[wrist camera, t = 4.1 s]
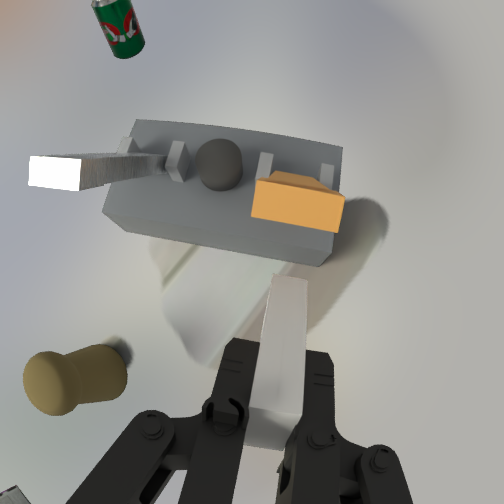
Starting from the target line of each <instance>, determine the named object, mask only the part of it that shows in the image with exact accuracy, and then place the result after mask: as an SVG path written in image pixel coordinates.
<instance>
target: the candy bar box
mask: <svg viewBox="0 0 504 504" xmlns="http://www.w3.org/2000/svg"><path fill="white" fill-rule="evenodd" d="M0 504H31V503H30V502H29V501H28V500H27V498H26V497H25V496H24V494H23V493H22V492H21V490H20V489H19V488H18V486H17V485H15V486H13V487H11V488H9V489H7V490H5V491H3V492H1V493H0Z"/></svg>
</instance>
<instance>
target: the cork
mask: <svg viewBox="0 0 504 504" xmlns="http://www.w3.org/2000/svg"><path fill="white" fill-rule="evenodd" d="M127 375H128V374H127V369H126V365H125V363H124V361H123V359H122V358H121V356H120V355H119V354H118V353H117V352H116V351H115V350H114V349H112V348H110V347H109V346H106V345H101V344H97V345H91V346H89V347H86V348H83V349H80V350H77V351H74V352H72V353H69V354H66V355H62V354H59V353H55V352H52V351H48V352H40V353H38V354H36V355H35V356H33V357H32V358H31V359H30V360H29V362H28V363H27V364H26V366H25V369H24V373H23V384H24V389H25V392H26V394H27V396H28V398H29V400H30V401H31V403H32V404H33V405H34V406H35V407H36V408H37V409H39V410H40V411H42V412H43V413H45V414H48V415H51V416H59V415H60V416H61V415H65V414H67V413H69V412H71V411H73V409H74V408H75V407H76V406H77V405H78V404H84V403H93V402H101V401H109V400H113V399H115V398H117V397H119V396H120V395H121V394H122V392H123V391H124V390H125V387H126V385H127Z"/></svg>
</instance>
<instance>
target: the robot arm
mask: <svg viewBox="0 0 504 504" xmlns="http://www.w3.org/2000/svg"><path fill="white" fill-rule="evenodd" d="M307 281H308V280H306V279H301V278H295V277H290V276H284V275H279V274H273V275H272V280H271V285H270V291H269V296H268V300H267V305H266V310H265V315H264V320H263V326H262V331H261V337H260V342H254V341H249V340H244V339H239V338H233V339H232V340H231V341H230V342H229V343H228V344H227V345H226V346H225V349H224V353H223V356H222V360H221V363H220V367H219V370H218V374H217V377H216V381H215V384H214V388H213V391H212V394H211V397H210V398H208V399H207V400H206V401H205V403H204V404H203V406H202V412H201V413H199V414H198V415H195V416H192V417H186V418H170V417H168V416H167V415H166V414H165V413H163V412H159V411H156V410H147V411H144V412H141V413H139V414H138V415H137V416H135V417H134V418H133V419H132V421H131V422H130V423H129V425H128V426H127V427H126V428H125V430H124V431H123V432H122V433H121V435H120V436H119V437H118V438H117V440H116V441H115V442H114V444H113V445H112V446H111V447H110V449H109V450H108V451H107V452H106V454H105V455H104V456H103V457H102V459H101V460H100V461H99V462H98V464H97V465H96V466H95V468H94V469H93V470H92V471H91V472H90V474H89V475H88V476H87V477H86V479H85V480H84V481H83V482H82V484H81V485H80V486H79V488H78V489H77V490H76V491H75V493H74V494H73V495H72V496H71V497H70V499H69V500H68V501H67V502H66V504H154V503H155V501H156V500H157V498H158V497H159V495H160V494H161V492H162V491H163V489H164V487H165V486H166V485H167V483H168V482H169V480H170V479H171V477H172V476H173V474H174V472H175V471H176V470H187V474H186V477H185V481H184V484H183V488H182V491H181V495H180V498H179V501H178V504H232V499H233V494H234V489H235V484H236V479H237V474H238V469H239V464H240V459H241V454H242V449H243V445H247V446H253V447H259V448H266V449H272V450H279V451H283V450H284V448H285V454H284V459H283V461H282V462H281V464H280V465H279V467H278V470H277V473H279V482H278V489H277V496H276V503H275V504H413V501H412V498H411V495H410V492H409V489H408V485H407V482H406V479H405V476H404V473H403V470H402V467H401V464H400V461H399V458H398V457H397V455H396V453H395V451H393V450H392V449H391V448H390V447H388V446H385V445H373V446H371V447H368V448H365V447H362V446H359V445H356V444H354V443H351V442H349V441H347V440H346V439H344V438H343V437H342V436H341V435H340V434H339V432H338V431H337V428H336V426H335V399H334V364H333V362H332V360H331V358H330V356H329V354H328V353H325V352H318V351H311V350H306V327H307Z"/></svg>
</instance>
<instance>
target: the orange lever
mask: <svg viewBox="0 0 504 504" xmlns="http://www.w3.org/2000/svg"><path fill="white" fill-rule="evenodd" d="M344 201H345V197H344V196H343V195H342V194H340V193H339V192H337V191H333V190H330V189H328V188H327V187H326V186H324V185H323V184H321V183H320V182H319V181H317V180H316V179H314V178H313V177H308V176H303V175H298V174H292V173H287V172H281V171H275V172H274V173H272V174H271V175H270V176H269V177H268V178H264V177H261V178H259V179H258V180H257V181H256V187H255V194H254V200H253V206H252V212H251V217H255V218H261V219H267V220H272V221H278V222H283V223H288V224H294V225H299V226H304V227H310V228H315V229H320V230H325V231H330V232H335V233H338V229H339V225H340V220H341V216H342V211H343V206H344Z"/></svg>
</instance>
